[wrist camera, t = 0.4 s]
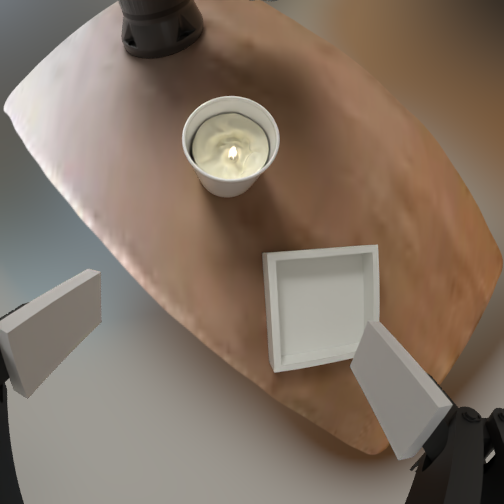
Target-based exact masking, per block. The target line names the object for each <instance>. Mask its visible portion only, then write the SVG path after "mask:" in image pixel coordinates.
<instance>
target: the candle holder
mask: <svg viewBox="0 0 504 504" xmlns="http://www.w3.org/2000/svg"><path fill="white" fill-rule="evenodd" d="M279 144H280V135H279V130H278V127H277V124H276V122H275V120H274V118H273V117H272V115H271V114H270V113H269V112H268V111H267V110H266V109H265V108H264V107H263V106H261V105H260V104H258V103H256V102H255V101H252V100H250V99H247V98H243V97H238V96H224V97H218V98H215V99H212V100H209V101H207V102H205V103H204V104H202V105H200V106H199V107H198V108H197V109H196V110H195V111H194V112H193V113H192V114H191V115H190V116H189V118H188V120H187V121H186V124H185V126H184V129H183V134H182V145H183V150H184V153H185V155H186V157H187V159H188V161H189V162H190V164H191V165H192V167H193V169H194V171H195V173H196V175H197V177H198V179H199V180H200V182H201V184H202V185H203V186H204V188H205V189H206V190H208V191H209V192H210V193H212V194H214V195H216V196H219V197H235V196H238V195H241V194H243V193H244V192H246V191H247V190H248V189H249V188H250V187H251V186H252V185H253V184H254V183H255V182H256V180H257V179H258V178H259V177H260V176H261V174H262V173H263V172H264V171H265V170H266V169H267V168H268V167H269V166H270V165H271V164H272V162H273V161H274V159H275V157H276V155H277V152H278V149H279Z"/></svg>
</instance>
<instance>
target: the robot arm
mask: <svg viewBox="0 0 504 504" xmlns="http://www.w3.org/2000/svg"><path fill="white" fill-rule="evenodd" d="M118 1H119V4H120V7H121V9H122V12H123V15H124V17H123V25H122V42H123V44H124V47H125V49H126V50H127V51H128V52H129V53H130V54H132V55H134V56H136V57H141V58H158V57H163V56H167V55H171V54H174V53H176V52H179V51H181V50H183V49H185V48H187V47H188V46H190V45H191V44H192V43H194V42H195V41H196V40H197V39H198V37H199V36H200V34H201V33H202V30H203V18H202V14H201V12H200V11H199V9H198V7H197V6H196V4H195V2H194V0H118ZM251 1H253V0H251ZM263 1H277V0H263ZM101 322H102V321H101V272H99V271H95V270H91V269H87V270H85V271H83V272H81V273H80V274H78V275H76V276H74V277H72V278H71V279H69V280H67V281H65V282H63V283H62V284H60V285H58V286H56V287H55V288H53V289H51V290H50V291H48V292H46V293H45V294H43V295H41V296H39V297H38V298H36V299H34V300H33V301H31V302H28V303H25V304H22V305H20V306H19V307H17V308H16V309H15V310H12V311H11V312H9V313H8V314H6V315H4V316H3V317H1V318H0V504H24V503H23V500H22V496H21V493H20V488H19V484H18V480H17V476H16V471H15V466H14V462H13V455H12V449H11V442H10V434H9V424H8V410H7V388H6V385H5V381H6V380H7V379H9V378H10V381H11V384H12V386H13V389H14V390H15V391H16V392H18V393H19V394H21V395H23V396H24V397H26V398H27V399H28V398H29V397H30V396H31V395H32V394H33V392H34V391H35V390H36V389H37V388H38V387H39V386H40V385H41V384H42V383H43V381H44V380H45V379H46V378H47V377H48V376H49V375H50V374H51V373H52V372H53V371H54V370H55V369H56V368H57V367H58V365H59V364H60V363H61V362H62V361H63V360H64V359H65V358H66V357H67V356H68V355H69V354H70V353H71V352H72V351H73V350H74V349H75V348H76V347H77V346H78V345H79V344H80V343H81V342H82V341H83V340H84V339H85V338H86V337H87V336H88V335H89V334H90V333H91V332H92V331H93V330H94V329H95V328H96V327H97V326H98V325H99V324H100V323H101ZM350 368H351V370H352V371H353V373H354V375H355V377H356V379H357V381H358V383H359V385H360V386H361V388H362V390H363V392H364V394H365V396H366V398H367V400H368V402H369V403H370V405H371V407H372V409H373V411H374V413H375V415H376V417H377V419H378V421H379V423H380V425H381V427H382V429H383V431H384V433H385V435H386V437H387V439H388V440H389V442H390V444H391V446H392V449H393V451H394V453H395V454H396V457H397V458H398V460H402V459H406V458H410V457H414V456H415V454H416V453H417V452H418V451H419V450H420V449H421V447H423V448H424V450H425V453H424V454H423V455H422V456H421V457H420V458H419V460H418V461H417V462H416V463H415V464H414V465H413V466H412V467H411V469H410V470H411V471H412V470H413V469H414V468H415V467H417V466H418V468H417V470H416V474H415V478H414V480H413V483H412V486H411V489H410V492H409V494H408V497H407V500H406V502H405V504H504V409H502V408H496V409H494V411H493V412H492V413H491V415H490V416H489V418H481V416H480V414H479V413H478V412H477V411H475V410H474V409H472V408H470V407H460V408H458V407H457V406H456V404H455V403H454V402H453V401H452V400H451V399H450V397H449V396H448V395H447V394H446V393H445V391H443V390H442V388H441V387H440V386H439V384H438V385H437V382H436V381H435V380H434V379H433V378H432V376H430V375H429V374H427V373H426V372H425V371H424V370H423V369H422V368H421V367H420V365H419V364H418V363H417V362H416V361H415V360H414V359H413V357H412V356H411V355H410V354H409V353H408V352H407V351H406V350H405V349H404V347H403V346H402V345H401V344H400V343H399V342H398V341H397V340H396V339H395V338H394V337H393V335H392V334H391V333H390V332H389V331H388V330H387V329H386V328H385V327H384V326H383V325H382V324H381V323H380V322H373V321H368V322H367V324H366V327H365V330H364V332H363V335H362V338H361V340H360V343H359V345H358V348H357V350H356V353H355V355H354V358H353V360H352V362H351V365H350ZM493 450H494V451H495V455H494V457H493V458H492V459H491V460H490V461H489V462H488V463H486V461H485V459H486V458H487V457H488V455H489V454H490V453H491V452H492V451H493Z"/></svg>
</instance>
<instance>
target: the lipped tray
mask: <svg viewBox="0 0 504 504" xmlns="http://www.w3.org/2000/svg"><path fill="white" fill-rule="evenodd" d="M262 260H263V274H264V289H265V304H266V319H267V335H268V351H269V362H270V364H271V367H272V369H273V371H274V373H275V372H282V371H289V370H295V369H301V368H307V367H312V366H318V365H323V364H328V363H333V362H337V361H342V360H346V359H351V358H354V355H355V353H356V350H357V348H358V345H359V343H360V340H361V338H362V335H363V332H364V330H365V327H366V324H367V322H368V321H373V322H379V302H380V294H379V257H378V245H360V246H347V247H334V248H320V249H307V250H294V251H280V252H267V253H262Z"/></svg>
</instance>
